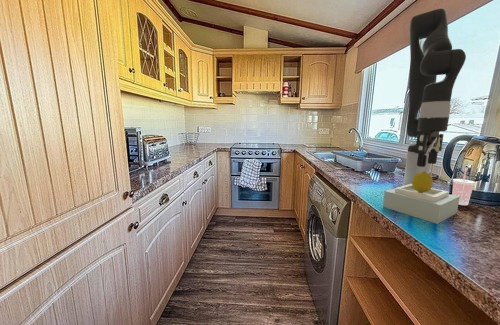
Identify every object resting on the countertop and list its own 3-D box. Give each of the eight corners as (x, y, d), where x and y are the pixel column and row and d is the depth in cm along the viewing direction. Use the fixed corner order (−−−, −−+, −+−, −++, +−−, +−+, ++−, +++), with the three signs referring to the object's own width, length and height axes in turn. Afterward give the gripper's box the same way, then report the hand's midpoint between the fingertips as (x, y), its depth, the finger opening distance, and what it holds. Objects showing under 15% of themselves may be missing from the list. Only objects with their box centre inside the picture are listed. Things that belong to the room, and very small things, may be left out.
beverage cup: (470, 203, 83) (477, 167, 80) (471, 207, 78) (478, 170, 76) (448, 199, 87) (454, 165, 84) (448, 203, 82) (455, 167, 80)
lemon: (423, 191, 77) (426, 169, 76) (434, 196, 72) (438, 173, 70) (407, 190, 78) (410, 169, 76) (417, 196, 72) (420, 173, 71)
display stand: (404, 199, 86) (406, 181, 85) (456, 213, 73) (460, 192, 72) (382, 206, 78) (385, 187, 77) (437, 223, 65) (441, 200, 64)
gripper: (428, 117, 77) (422, 161, 80) (410, 116, 69) (404, 165, 72) (456, 116, 70) (448, 164, 73) (439, 116, 63) (431, 169, 66)
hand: (426, 165), depth 73 cm, fingers open, 8 cm apart
